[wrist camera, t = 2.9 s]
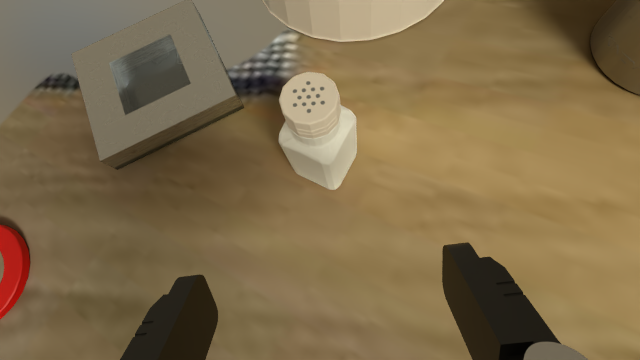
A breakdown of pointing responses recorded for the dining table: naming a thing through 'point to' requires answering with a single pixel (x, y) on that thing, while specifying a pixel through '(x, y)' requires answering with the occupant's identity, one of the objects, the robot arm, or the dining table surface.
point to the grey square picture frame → (153, 84)
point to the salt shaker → (317, 129)
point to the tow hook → (12, 267)
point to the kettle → (350, 17)
